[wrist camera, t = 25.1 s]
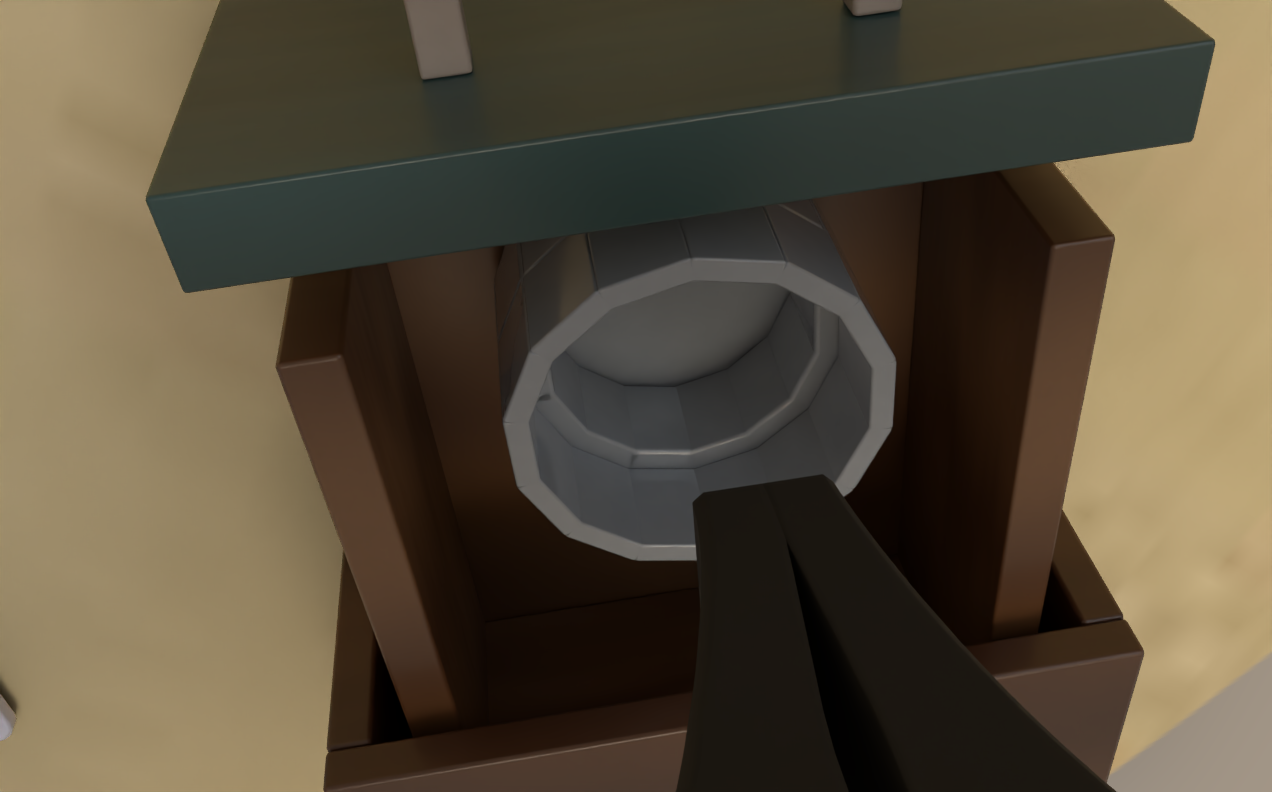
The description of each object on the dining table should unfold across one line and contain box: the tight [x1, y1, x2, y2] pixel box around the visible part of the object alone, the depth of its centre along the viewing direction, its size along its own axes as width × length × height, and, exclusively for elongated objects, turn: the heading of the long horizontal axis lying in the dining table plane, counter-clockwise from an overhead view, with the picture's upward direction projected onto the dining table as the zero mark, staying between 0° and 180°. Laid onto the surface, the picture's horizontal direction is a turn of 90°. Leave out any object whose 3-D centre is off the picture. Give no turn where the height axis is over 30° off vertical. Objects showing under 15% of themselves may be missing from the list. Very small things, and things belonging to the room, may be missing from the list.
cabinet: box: [323, 510, 1144, 792], centre depth 25 cm, size 14×12×7 cm
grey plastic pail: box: [494, 199, 897, 561], centre depth 17 cm, size 5×5×4 cm
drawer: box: [146, 0, 1215, 738], centre depth 17 cm, size 18×11×6 cm, turn 5°
